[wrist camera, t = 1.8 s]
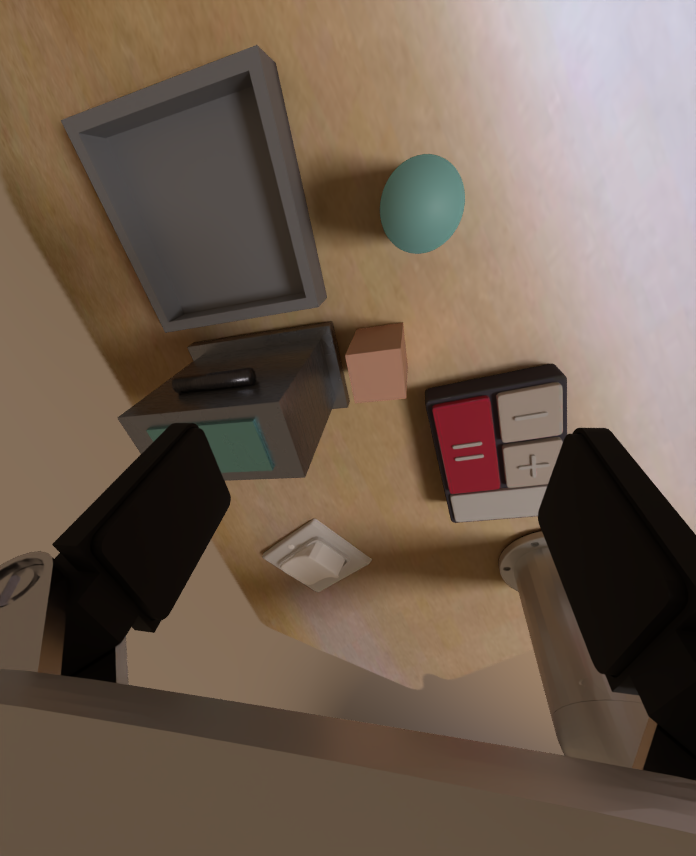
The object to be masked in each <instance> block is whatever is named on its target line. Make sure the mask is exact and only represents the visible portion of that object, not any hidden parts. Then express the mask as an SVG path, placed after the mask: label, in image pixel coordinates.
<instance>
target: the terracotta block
mask: <svg viewBox="0 0 696 856" xmlns="http://www.w3.org/2000/svg"><path fill="white" fill-rule="evenodd" d="M345 357H346V362H347V367H348V372H349V376H350V381H351V386H352V391H353V395H354V400H355V403H362V402H373V401H384V400H395V399H406V395H407V373H408V363H407V354H406V345H405V335H404V326H403V322H402V323H395V324H389V325H382V326H375V327H368V328H361V329H357V330H356V332H355V334H354V337H353V339H352V341H351V343H350V346H349V348H348V350H347V352H346V355H345Z"/></svg>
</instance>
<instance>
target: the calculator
mask: <svg viewBox="0 0 696 856" xmlns="http://www.w3.org/2000/svg"><path fill="white" fill-rule="evenodd" d="M425 403H426V409H427V414H428V419H429V423H430V428H431V432H432V437H433V441H434V446H435V450H436V455H437V459H438V464H439V468H440V473H441V477H442V482H443V486H444V491H445V495H446V500H447V504H448V509H449V514H450V518H451V521H452V522H455V523H458V522H471V521H483V520H496V519H508V518H521V517H533V516H538V511H539V508H540V505H541V502H542V499H543V496H544V494H545V491H546V488H547V485H548V482H549V480H550V477H551V474H552V471H553V468H554V466H555V463H556V460H557V457H558V455H559V452H560V449H561V446H562V443H563V441H564V438H565V436H566V435H567V378H566V376H565V375H564V374H563V373H562V372H561V371H560V370H559V369H558V368H557V367H556V365H554V364H547V365H542V366H537V367H532V368H527V369H522V370H517V371H512V372H507V373H502V374H497V375H492V376H487V377H482V378H477V379H472V380H467V381H463V382H458V383H453V384H448V385H443V386H438V387H433V388H429V389H427V390H426V391H425Z"/></svg>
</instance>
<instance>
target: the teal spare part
mask: <svg viewBox="0 0 696 856" xmlns="http://www.w3.org/2000/svg"><path fill="white" fill-rule="evenodd" d="M464 204H465V192H464V186H463V182H462V179H461V177H460V175H459V173H458V171H457V170H456V168H455V167H454V166H453V165H452V164H451V163H450V162H449V161H447V160H446V159H444V158H442V157H440V156H437V155H432V154H423V155H417V156H415V157H412V158H410V159H408V160H406V161H405V162H403V163H402V164H401V165H400V166H398V167H397V168H396V169H395V171H394V172H393V173H392V174H391V176H390V177H389V179H388V181H387V183H386V185H385V187H384V190H383V193H382V196H381V202H380V218H381V223H382V226H383V229H384V231H385V233H386V235H387V237H388V238H389V240H390V241H391V242H392V243H393V244H394V245H395V246H396V247H398V248H399V249H401V250H403V251H406V252H409V253H415V254H420V253H426V252H430V251H432V250H435V249H436V248H438V247H440V246H441V245H442V244H444V243H445V242H446V241H447V240H448V239H449V238H450V237H451V236H452V235H453V233H454V232H455V230H456V229H457V227H458V225H459V223H460V220H461V218H462V214H463V211H464Z"/></svg>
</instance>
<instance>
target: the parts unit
mask: <svg viewBox="0 0 696 856" xmlns="http://www.w3.org/2000/svg"><path fill="white" fill-rule="evenodd" d="M187 348H188V350H189V352H190V354H191V356H192V359H193V362H192V363H191V364H189V365H188V366H187V367H185V368H184V369H183V370H181V371H180V372H178V373H177V374H176V375H174V376H173V377H172V378H170V379H169V380H168V381H166V382H165V383H164V384H162V385H161V386H160V387H158V388H157V389H156V390H154V391H153V392H151V393H150V394H149V395H147V396H146V397H145V398H143V399H142V400H141V401H139V402H138V403H137V404H135V405H134V406H133V407H131V408H130V409H129V410H127V411H126V412H124V413H123V414H122V415H121V416H119V417H118V420H119V421H120V423H121V424H122V426H123V427H124V429H125V430H126V431H127V433H128V435H129V436H130V438H131V439H132V441H133V442H134V444H135V445H136V447H137V449H138V450H139V452H140V453H141V454H142V453H143V452H144V451H145V450H146V449H147V448H148V447H149V446H150V445H151V444H152V443H153V442H154V441H155V440H156V439H157V438H158V437H159V436H160V435H161V434H162V433H163V432H164V431H165V430H166V429H167V428H168V427H169V426H170V425H171V424H172V423H194V424H196V425H197V426H198V427H199V428H200V429H202V430H203V431H204V433H205V435H206V437H207V440H208V442H209V445H210V447H211V449H212V452H213V454H214V457H215V459H216V462H217V464H218V466H219V469H220V471H221V474H222V476H223V478H224V481H225V480H251V479H277V478H303V477H305V476H306V474H307V471H308V469H309V466H310V464H311V461H312V459H313V456H314V453H315V451H316V448H317V446H318V443H319V441H320V438H321V436H322V433H323V430H324V428H325V425H326V423H327V420H328V418H329V415H330V413H331V410H332V409H336V408H348V405H349V402H350V400H349V395H348V391H347V386H346V382H345V377H344V373H343V368H342V364H341V359H340V354H339V350H338V345H337V341H336V336H335V332H334V327H333V322H332V321H331V322H324V323H318V324H312V325H305V326H299V327H292V328H286V329H279V330H273V331H266V332H260V333H253V334H247V335H241V336H234V337H228V338H221V339H215V340H208V341H202V342H195V343H193V344H191V345H190V346H188V347H187Z"/></svg>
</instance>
